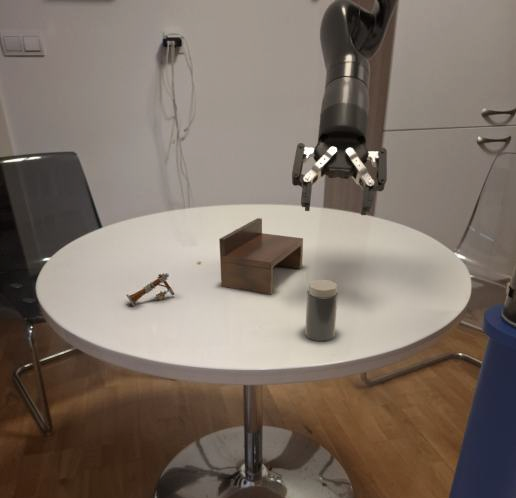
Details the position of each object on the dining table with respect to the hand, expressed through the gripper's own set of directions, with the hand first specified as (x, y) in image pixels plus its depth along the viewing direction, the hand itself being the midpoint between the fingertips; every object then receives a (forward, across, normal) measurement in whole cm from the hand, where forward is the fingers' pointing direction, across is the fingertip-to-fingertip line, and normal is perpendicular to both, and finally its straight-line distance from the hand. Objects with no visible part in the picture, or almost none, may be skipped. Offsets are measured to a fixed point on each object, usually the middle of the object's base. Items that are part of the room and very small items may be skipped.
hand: (335, 210), depth 74 cm
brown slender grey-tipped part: (+14, -30, +12) cm, 35 cm away
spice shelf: (+3, -12, +22) cm, 25 cm away
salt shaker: (+18, 0, +4) cm, 19 cm away
